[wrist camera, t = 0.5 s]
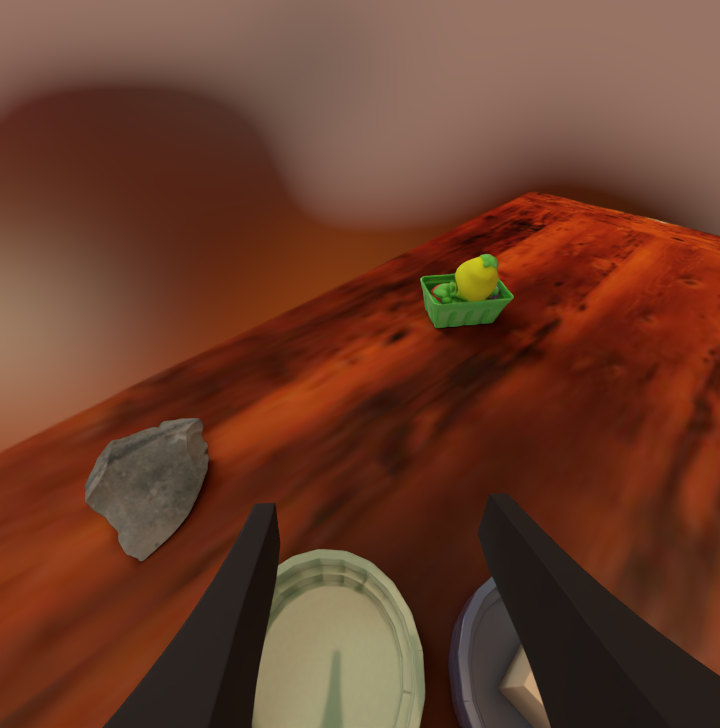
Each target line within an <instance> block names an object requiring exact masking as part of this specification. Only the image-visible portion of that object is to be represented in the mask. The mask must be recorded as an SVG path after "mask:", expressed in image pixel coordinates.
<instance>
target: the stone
mask: <svg viewBox="0 0 720 728" xmlns="http://www.w3.org/2000/svg"><path fill="white" fill-rule="evenodd" d="M202 430H203V423H202V421H201V420H200V419H198V418H194V419H178V420H173V421H163V422H162V423H161V425H160V426H159V427H158V428H156V427H153V428H149V429H146V430H142V431H140V432H138V433H135V434H133V435H130V436H128V437H124V438H122V439H118V440H113V441H111V442H110V443H109V444H107V446H106V448H105V449H104V450H103V452H102V453H101V454H100V456H99V457H98V458H97V461H96V464H95V466H94V468H93V470H92V472H91V474H90V476H89V478H88V480H87V482H86V484H85V502H86V503H87V504H88V505H89V506H90V507H91V508H92V509H93V510H94V511H96V512H97V513H99V514H101V515H102V516H104V517H105V518H106V519H107V521H108V522H109V523H110V524H111V525H112V526H113V527H114V528H115V529H116V530H117V531H118V533H119V535H118V541H119V543H120V544H121V546H122V548H123V550H124V551H125V553H126V554H127V555H131V556H133V557H135V558H138V559H139V561H143V560H145V559H146V558H147V557H148V556H149V555H150V554H151V553H153V552H154V551H155V550H156V549H157V548H158V547H159V546H160V545H161V544H163V543H164V542H165V541H166V540H167V539H168V538H169V537H170V536H171V535H172V534H173V533H174V532H175V531H176V530H177V528H178V527H179V526H180V525H181V523H182V522H183V521H184V520H185V519H186V517H187V516H188V514H189V513H190V511H191V509H192V506H193V504H194V502H195V500H196V498H197V496H198V494H199V491H200V489H201V486H202V483H203V480H204V477H205V474H206V472H207V470H208V465H207V464H208V461H209V455H207V453H208V444H207V443H206V442H205V441H204V440H203V438H202V435H201V434H202Z"/></svg>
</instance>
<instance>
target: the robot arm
mask: <svg viewBox="0 0 720 728" xmlns="http://www.w3.org/2000/svg"><path fill="white" fill-rule="evenodd" d="M478 536H479V539H480V543H481V546H482V549H483V553H484V556H485V559H486V562H487V565H488V567H489V570H490V572H491V575H492V577H493V579H494V582H495V584H496V586H497V589H498V591H499V593H500V596H501V598H502V600H503V602H504V605H505V607H506V609H507V612H508V614H509V616H510V618H511V621H512V623H513V625H514V628H515V630H516V632H517V635H518V637H519V639H520V641H521V644H522V646H523V649H524V651H525V654H526V656H527V659H528V662H529V664H530V667H531V670H532V673H533V676H534V679H535V682H536V685H537V688H538V691H539V693H540V696H541V699H542V702H543V705H544V708H545V711H546V715H547V718H548V721H549V724H550V727H551V728H720V676H719V675H717V674H716V673H715V672H713V671H712V670H710V669H709V668H707V667H706V666H705V665H703V664H702V663H700V662H699V661H698V660H696V659H695V658H693V657H692V656H691V655H689V654H688V653H687V652H685V651H684V650H682V649H681V648H680V647H678V646H677V645H676V644H674V643H673V642H672V641H670V640H669V639H668V638H666V637H665V636H664V635H662V634H661V633H660V632H658V631H657V630H656V629H654V628H653V627H652V626H650V625H649V624H648V623H647V622H645V621H644V620H643V619H642V618H640V617H639V616H638V615H637V614H635V613H634V612H633V611H632V610H630V609H629V608H628V607H627V606H626V605H624V604H623V603H622V602H621V601H619V600H618V599H617V598H616V597H615V596H613V595H612V594H611V593H610V592H609V591H608V590H606V589H605V588H604V587H603V586H602V585H601V584H600V583H598V582H597V581H596V580H595V579H594V578H593V577H592V576H591V575H590V574H588V573H587V572H586V571H585V570H584V569H583V568H582V567H581V566H580V565H578V564H577V563H576V562H575V561H574V560H573V559H572V558H571V557H570V556H569V555H568V554H567V553H566V552H565V551H564V550H563V549H562V548H561V547H560V546H559V545H557V544H556V543H555V542H554V541H553V540H552V539H551V538H550V537H549V536H548V535H547V534H546V533H545V532H544V531H543V530H542V529H541V528H540V527H539V526H538V525H537V524H536V523H535V522H534V521H533V520H532V519H531V518H530V517H529V516H528V514H527V513H526V512H525V511H524V510H523V509H522V508H521V507H520V506H519V505H518V504H517V503H516V502H515V501H514V500H513V499H512V498H511V497H510V496H509V495H508V494H507V493H505V494H489V498H488V501H487V504H486V508H485V511H484V514H483V517H482V521H481V524H480V527H479V531H478ZM279 551H280V537H279V529H278V521H277V513H276V505H275V503H262V504H255V505H254V506H253V507H252V510H251V512H250V514H249V516H248V518H247V520H246V522H245V524H244V526H243V528H242V530H241V532H240V534H239V536H238V538H237V540H236V541H235V543H234V545H233V547H232V549H231V550H230V552H229V554H228V555H227V557H226V559H225V561H224V562H223V564H222V566H221V567H220V569H219V571H218V573H217V574H216V576H215V577H214V579H213V581H212V582H211V584H210V585H209V587H208V588H207V590H206V591H205V593H204V595H203V596H202V598H201V599H200V601H199V602H198V604H197V605H196V607H195V608H194V610H193V611H192V613H191V614H190V616H189V617H188V619H187V620H186V622H185V623H184V624H183V626H182V627H181V629H180V630H179V631H178V633H177V634H176V636H175V637H174V638H173V640H172V641H171V642H170V644H169V645H168V647H167V648H166V649H165V651H164V652H163V653H162V655H161V656H160V657H159V658H158V660H157V661H156V662H155V664H154V665H153V666H152V668H151V669H150V670H149V671H148V673H147V674H146V675H145V677H144V678H143V679H142V680H141V682H140V683H139V684H138V686H137V687H136V688H135V689H134V691H133V692H132V693H131V694H130V696H129V697H128V698H127V699H126V700H125V702H124V703H123V704H122V705H121V706H120V708H119V709H118V710H117V711H116V712H115V714H114V715H113V716H112V717H111V718H110V719H109V721H108V722H107V723H106V724H105V725H104V726H103V728H251V726H252V718H253V710H254V702H255V694H256V685H257V679H258V673H259V667H260V661H261V656H262V651H263V646H264V641H265V636H266V631H267V626H268V620H269V615H270V610H271V605H272V600H273V595H274V590H275V585H276V579H277V571H278V561H279Z"/></svg>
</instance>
